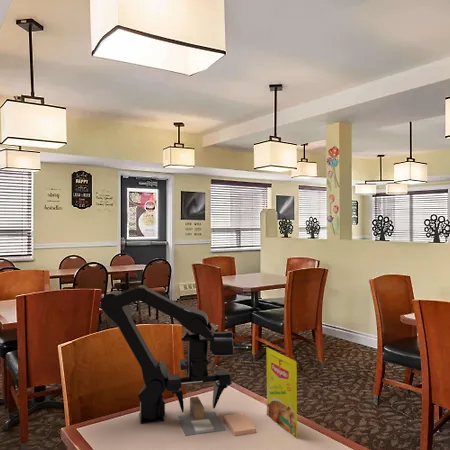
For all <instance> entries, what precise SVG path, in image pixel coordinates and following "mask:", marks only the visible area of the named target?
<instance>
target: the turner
mask: <svg viewBox="0 0 450 450" xmlns="http://www.w3.org/2000/svg"><path fill="white" fill-rule="evenodd" d="M189 412H190V415H191V414H192V416H193V418H194V420H195V421H191V424H192V426H193V428H194V430H195V432H196V433H200V432H207V431H214V427H213V426H212V424H211V422H210V420H209V419H204V413H205V407H204V404H203V403H202V401H201V399H200V398H199V396H192V397H189Z"/></svg>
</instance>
